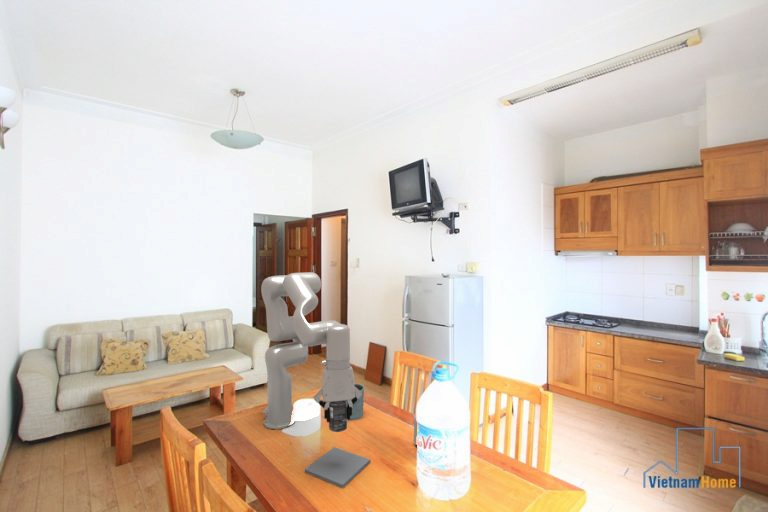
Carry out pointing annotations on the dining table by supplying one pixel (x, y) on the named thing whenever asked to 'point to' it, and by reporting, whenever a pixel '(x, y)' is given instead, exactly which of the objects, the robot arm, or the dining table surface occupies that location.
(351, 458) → the slate mat
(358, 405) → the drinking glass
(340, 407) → the pill bottle
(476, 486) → the dining table surface
